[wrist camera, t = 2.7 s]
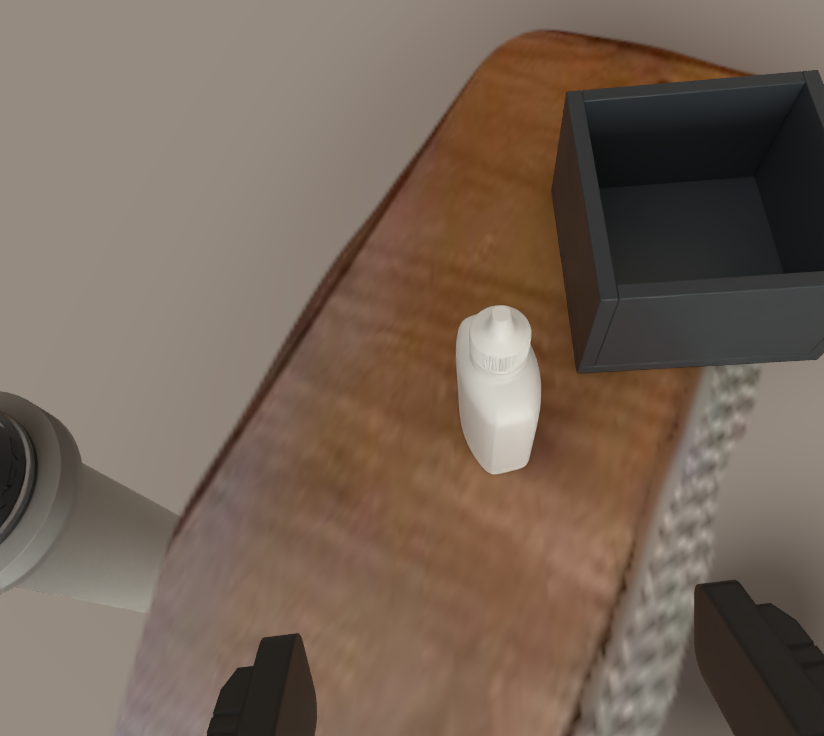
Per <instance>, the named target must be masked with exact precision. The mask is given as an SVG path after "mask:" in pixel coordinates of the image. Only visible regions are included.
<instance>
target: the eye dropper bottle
mask: <svg viewBox="0 0 824 736" xmlns="http://www.w3.org/2000/svg"><path fill="white" fill-rule="evenodd" d="M528 322H529V321H528V320H527V318H525V316H524V315H523V314H522V313H521V312H519V311H518V310H516V309H514V308H513V307H510V306H504V305H499V306H498V305H496V306H491V307H488V308H485V309H484V310H482V311H480V313H478V314H476V315H473V316H470V317H468V318H466V319H464V320H463V322H462V323H461V325H460V327H459V330H458V335H457V342H456V368H457V384H458V399H459V413H460V421H461V426H462V430H463V433H464V436H465V439H466V441H467V444H468V446H469V448H470V450H471V452H472V453H473V455H474V457H475V458H476V460H477V461H478V462H479V464H480V465H481V466H482V467H483V468H484V469H485V471H487V472H488V473H490V474H501V473H505V472H509V471H513V470H517V469H520V468H523V467H524V466H526V465H527V463H528V461H529V458H530V454H531V449H532V445H533V441H534V436H535V432H536V427H537V423H538V417H539V412H540V404H541V379H540V372H539V367H538V363H537V359H536V356H535V353H534V351H533V348H532V346H531V344H530V341H531V333H532V332H531V329H530V328H531V326H530V324H529V323H528Z"/></svg>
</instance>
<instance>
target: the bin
mask: <svg viewBox="0 0 824 736" xmlns="http://www.w3.org/2000/svg"><path fill="white" fill-rule="evenodd" d="M552 198H553V205H554V212H555V219H556V226H557V233H558V241H559V248H560V255H561V262H562V269H563V276H564V284H565V291H566V298H567V305H568V312H569V319H570V327H571V334H572V341H573V348H574V355H575V362H576V370H577V373H590V372H608V371H626V370H643V369H661V368H679V367H696V366H714V365H732V364H749V363H767V362H785V361H800V360H801V361H802V360H817V359H818V358H819V357H820V356H821V355H822V354H823V353H824V84H823V82H822V79H821V77H820V74H819V72H818V70H812V71H803V72H789V73H778V74H766V75H755V76H743V77H731V78H720V79H708V80H697V81H685V82H674V83H662V84H650V85H639V86H627V87H616V88H604V89H593V90H583V91H581V90H580V91H569V92H566V98H565V104H564V111H563V118H562V124H561V131H560V138H559V144H558V151H557V157H556V164H555V171H554V177H553V184H552Z"/></svg>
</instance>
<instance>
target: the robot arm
mask: <svg viewBox="0 0 824 736" xmlns="http://www.w3.org/2000/svg"><path fill="white" fill-rule="evenodd" d="M37 473H38V460H37V453H36V449H35V446H34V443H33V441H32V439H31V437H30V435H29V433H28V432H27V431H26V429H25V428H24V427H23V426H22V425H21V424H20V423H19V422H17V421H16V420H15V419H13V418H12V417H10V416H8V415H6V414H5V413H3V412H1V411H0V544H1V543H2V542H4V541H5V540H6V538H7V537H8V536H9V535H10V534H11V533H12V532H13V530H14V529H15V528H16V526H17V525H18V523H19V522H20V520H21V519H22V517H23V516H24V514H25V512H26V510H27V508H28V506H29V504H30V502H31V499H32V496H33V493H34V490H35V486H36V481H37ZM694 634H695V635H694V645H695V653H696V658H697V662H698V665H699V669H700V671H701V674H702V676H703V678H704V680H705V682H706V684H707V686H708V688H709V689H710V691H711V693H712V695H713V697H714V699H715V701H716V702H717V704H718V706H719V708H720V710H721V712H722V713H723V715H724V717H725V719H726V721H727V723H728V724H729V726H730V728H731V730H732V732H733V733H734V735H735V736H824V654H823V653H822V652H821V650H820V649H819V648H818V647H817V646H815V645H814V643H813V640H812V639H811V638H810V637H809V636H808V634H807V633H806V632H805V630H804V629H803V628H802V627H801V626H800V624H799V623H798V622H797V621H796V620H795V619H794V618H792V617H791V616H789V615H788V614H786V613H785V612H783V611H782V610H780V609H779V608H777V607H776V606H774V605H773V604H771V603H768V604H760V605H756V604H755V603H754V601H753V600H752V599H751V597H750V596H749V595H748V593H747V592H746V591H745V589H744V588H743V586H742V585H741V584H740V583H739V582H738V581H736V580H728V581H720V582H712V583H704V584H697V585H696V587H695V591H694ZM316 721H317V703H316V694H315V689H314V685H313V681H312V677H311V673H310V668H309V664H308V660H307V656H306V652H305V648H304V644H303V641H302V638H301V636H300V634H299V633H296V634H288V635H280V636H272V637H264V638H262V640H261V642H260V644H259V648H258V652H257V655H256V659H255V662H254V666H249V667H241V668H237V669H236V671H235V672H234V673H233V675H232V676H231V677H230V678H229V680H228V681H227V682H226V684H225V685H224V686H223V687H222V689H221V691H220V694H219V697H218V700H217V703H216V706H215V709H214V712H213V718H211V721H210V724H209V727H208V730H207V736H315V729H316Z"/></svg>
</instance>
